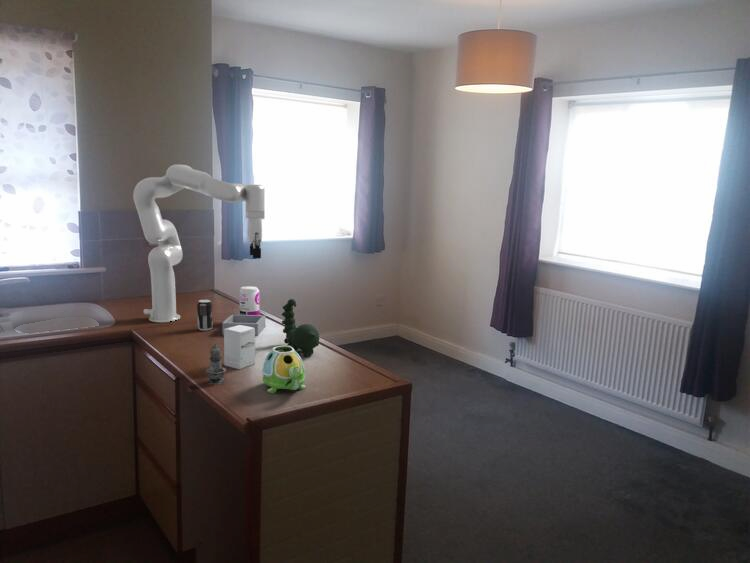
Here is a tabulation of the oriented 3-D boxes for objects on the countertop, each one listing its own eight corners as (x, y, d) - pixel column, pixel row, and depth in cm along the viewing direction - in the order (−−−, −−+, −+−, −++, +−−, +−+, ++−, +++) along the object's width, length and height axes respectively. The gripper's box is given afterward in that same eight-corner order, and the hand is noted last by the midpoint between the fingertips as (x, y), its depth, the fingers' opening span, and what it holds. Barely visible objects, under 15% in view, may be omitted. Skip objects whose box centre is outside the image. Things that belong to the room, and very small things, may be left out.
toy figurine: (276, 348, 217) (303, 361, 196) (274, 298, 215) (301, 306, 194) (299, 345, 222) (328, 357, 201) (298, 296, 220) (326, 303, 199)
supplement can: (261, 320, 252) (261, 286, 249) (256, 324, 244) (255, 290, 241) (243, 319, 253) (243, 285, 250) (237, 324, 245) (236, 289, 242)
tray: (222, 334, 228) (222, 322, 227) (232, 325, 241) (231, 314, 241) (257, 335, 227) (257, 324, 227) (265, 326, 241) (265, 315, 240)
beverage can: (207, 326, 239) (206, 298, 237) (215, 329, 235) (214, 300, 233) (195, 329, 234) (194, 300, 232) (203, 332, 231) (202, 302, 229)
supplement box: (240, 369, 188) (239, 332, 186) (223, 365, 192) (222, 328, 189) (256, 364, 194) (255, 327, 192) (239, 359, 198) (239, 324, 196)
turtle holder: (276, 403, 161) (276, 362, 159) (257, 382, 177) (256, 345, 175) (317, 396, 167) (317, 357, 165) (295, 377, 183) (295, 340, 181)
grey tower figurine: (208, 378, 180) (207, 340, 177) (227, 378, 180) (226, 340, 178) (204, 384, 174) (203, 346, 172) (224, 384, 174) (223, 346, 172)
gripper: (243, 213, 244) (243, 253, 247) (248, 216, 228) (248, 259, 231) (261, 213, 246) (261, 253, 249) (267, 216, 230) (267, 259, 233)
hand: (255, 256), depth 240 cm, fingers open, 9 cm apart
